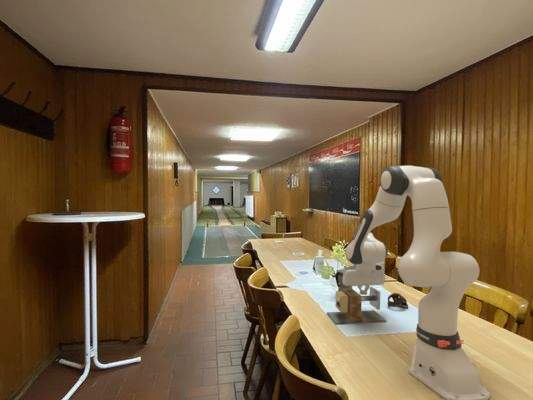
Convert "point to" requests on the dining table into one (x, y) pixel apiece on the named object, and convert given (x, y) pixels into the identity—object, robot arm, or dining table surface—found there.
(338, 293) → the tan flat block
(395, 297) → the dark openwork dome
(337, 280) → the coffeepot
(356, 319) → the bearing block
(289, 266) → the dining table surface
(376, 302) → the shaft
